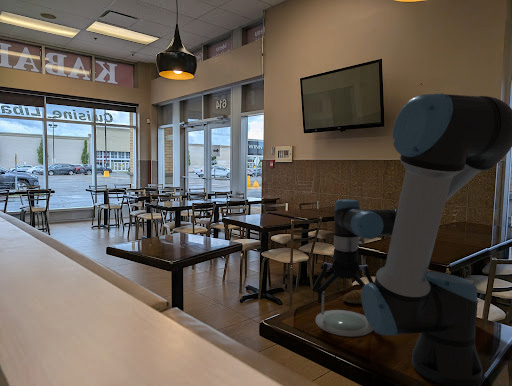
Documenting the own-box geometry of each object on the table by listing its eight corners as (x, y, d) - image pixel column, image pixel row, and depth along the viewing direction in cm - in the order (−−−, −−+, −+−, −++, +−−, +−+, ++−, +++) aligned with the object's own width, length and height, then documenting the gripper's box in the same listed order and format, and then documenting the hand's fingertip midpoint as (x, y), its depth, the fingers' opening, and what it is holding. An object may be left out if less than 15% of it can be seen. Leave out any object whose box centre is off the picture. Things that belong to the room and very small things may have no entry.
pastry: (348, 305, 126) (349, 295, 125) (338, 298, 132) (339, 289, 132) (371, 302, 128) (371, 292, 128) (360, 296, 135) (360, 286, 135)
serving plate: (377, 339, 101) (377, 337, 101) (314, 333, 105) (314, 331, 105) (370, 314, 119) (370, 312, 119) (316, 309, 123) (316, 307, 123)
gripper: (385, 248, 112) (383, 313, 113) (306, 244, 117) (305, 306, 118) (390, 253, 104) (387, 323, 106) (305, 249, 109) (304, 316, 111)
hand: (344, 314), depth 112 cm, fingers open, 13 cm apart
